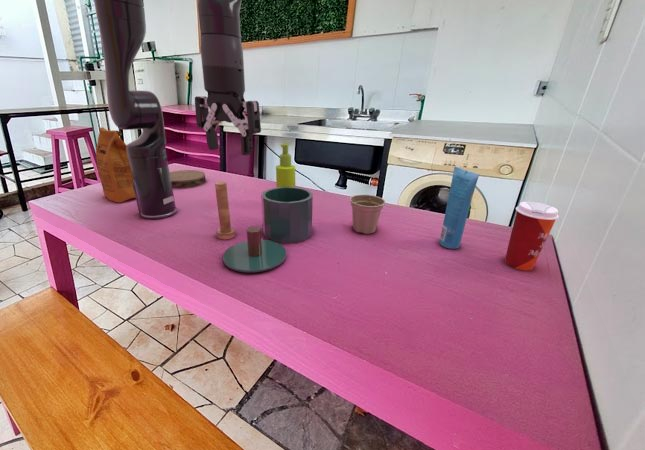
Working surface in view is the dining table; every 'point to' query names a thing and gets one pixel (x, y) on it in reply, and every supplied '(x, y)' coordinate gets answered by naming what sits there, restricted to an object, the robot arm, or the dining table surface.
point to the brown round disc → (187, 179)
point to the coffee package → (114, 166)
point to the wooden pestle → (223, 212)
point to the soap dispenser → (285, 169)
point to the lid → (254, 253)
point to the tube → (457, 207)
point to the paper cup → (529, 234)
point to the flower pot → (366, 212)
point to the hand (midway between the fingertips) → (229, 152)
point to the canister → (287, 214)
